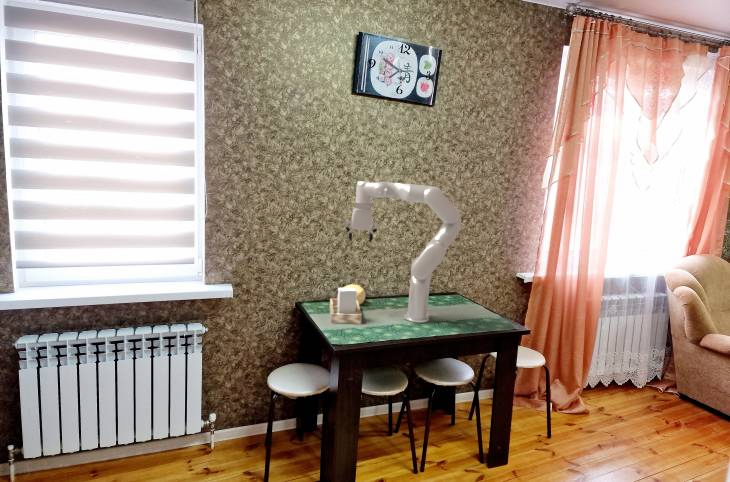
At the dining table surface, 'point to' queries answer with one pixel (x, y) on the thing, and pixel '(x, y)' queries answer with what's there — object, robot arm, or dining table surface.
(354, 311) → the skincare box
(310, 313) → the dining table surface
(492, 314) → the dining table surface
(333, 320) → the crate
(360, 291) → the sculpture
